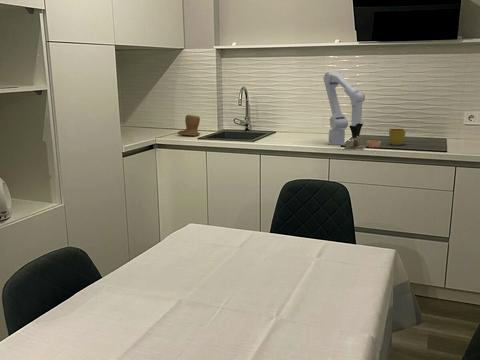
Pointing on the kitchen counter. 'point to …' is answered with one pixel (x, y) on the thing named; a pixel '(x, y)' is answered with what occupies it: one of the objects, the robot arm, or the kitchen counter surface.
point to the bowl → (373, 143)
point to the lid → (355, 145)
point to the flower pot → (396, 136)
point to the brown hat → (191, 126)
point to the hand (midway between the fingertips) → (355, 136)
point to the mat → (355, 148)
